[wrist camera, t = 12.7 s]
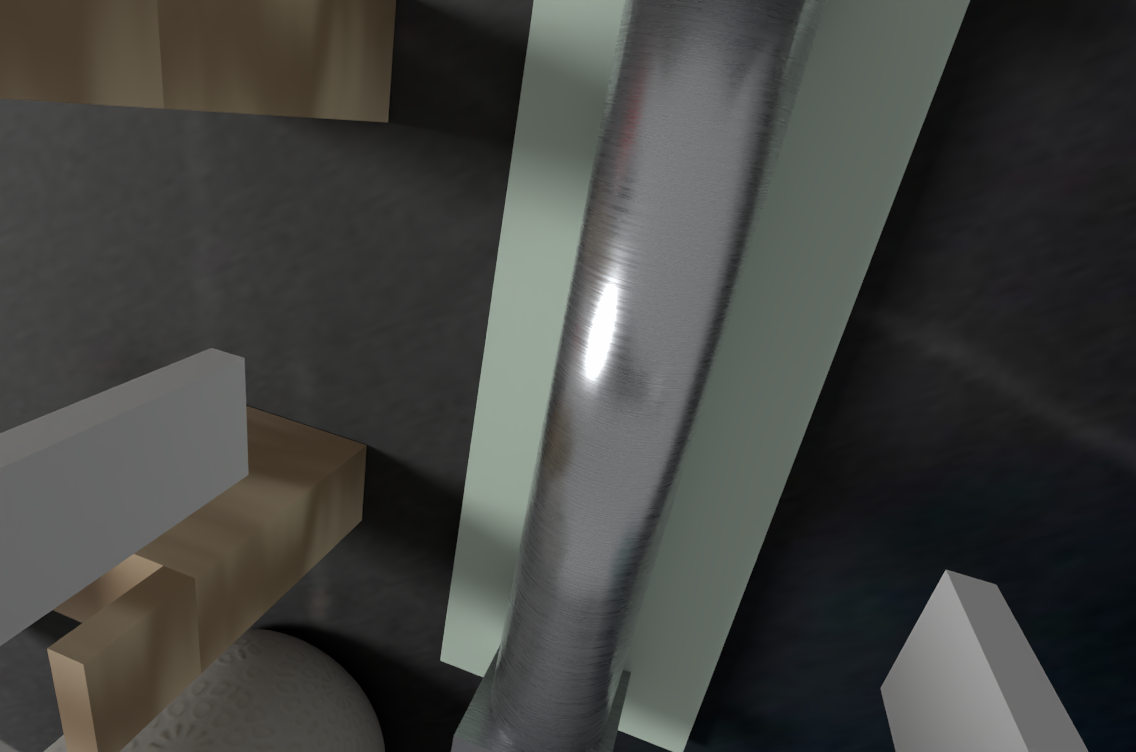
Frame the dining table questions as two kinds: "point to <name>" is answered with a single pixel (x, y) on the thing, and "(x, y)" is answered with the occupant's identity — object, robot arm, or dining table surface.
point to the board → (751, 342)
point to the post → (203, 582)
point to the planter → (264, 704)
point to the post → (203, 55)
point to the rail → (637, 351)
